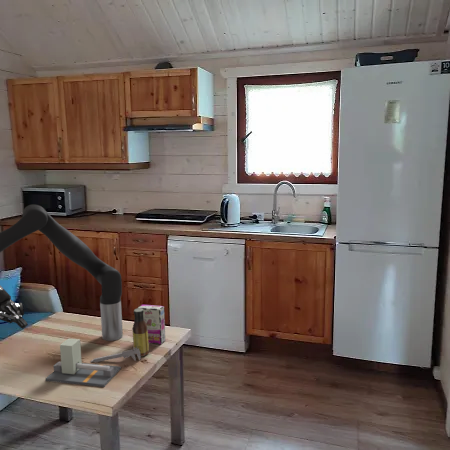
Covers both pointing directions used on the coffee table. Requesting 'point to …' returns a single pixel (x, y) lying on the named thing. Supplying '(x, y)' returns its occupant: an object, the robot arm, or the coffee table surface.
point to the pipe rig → (85, 374)
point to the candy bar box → (154, 323)
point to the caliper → (120, 355)
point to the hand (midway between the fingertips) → (25, 326)
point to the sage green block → (70, 355)
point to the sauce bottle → (140, 332)
